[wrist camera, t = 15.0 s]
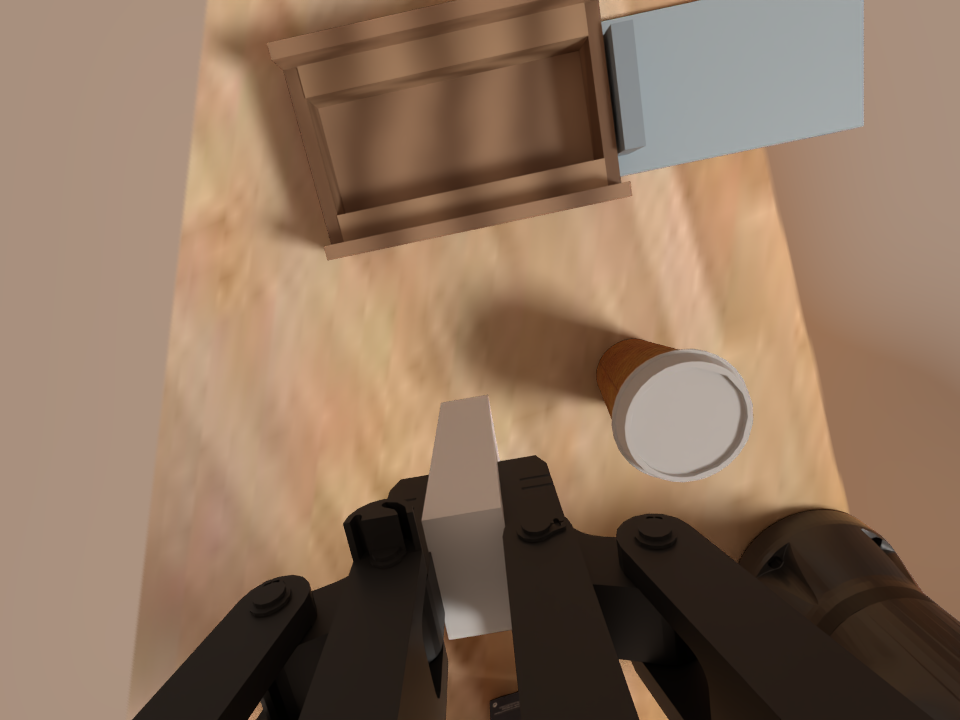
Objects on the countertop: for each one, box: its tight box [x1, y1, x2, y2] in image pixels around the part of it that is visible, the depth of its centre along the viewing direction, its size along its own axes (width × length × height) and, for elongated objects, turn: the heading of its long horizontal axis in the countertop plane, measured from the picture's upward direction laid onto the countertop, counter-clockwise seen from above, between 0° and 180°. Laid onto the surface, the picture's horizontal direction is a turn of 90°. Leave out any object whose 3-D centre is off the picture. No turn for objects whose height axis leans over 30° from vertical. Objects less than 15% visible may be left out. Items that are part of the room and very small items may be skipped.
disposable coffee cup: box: [596, 339, 753, 482], centre depth 38 cm, size 10×10×12 cm
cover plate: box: [601, 0, 864, 177], centre depth 36 cm, size 20×11×5 cm, turn 101°
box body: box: [267, 0, 632, 260], centre depth 36 cm, size 22×14×6 cm, turn 102°
